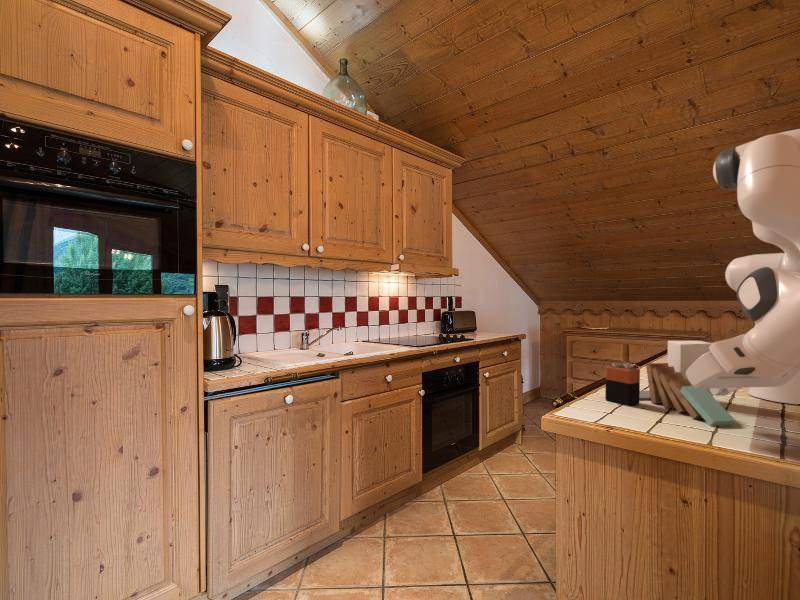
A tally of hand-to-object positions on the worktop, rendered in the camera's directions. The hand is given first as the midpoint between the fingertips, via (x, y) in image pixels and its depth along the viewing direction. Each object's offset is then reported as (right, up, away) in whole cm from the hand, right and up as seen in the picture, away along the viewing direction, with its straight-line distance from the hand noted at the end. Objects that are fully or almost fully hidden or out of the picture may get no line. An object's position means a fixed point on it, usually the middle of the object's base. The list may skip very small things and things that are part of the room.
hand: (717, 392), depth 87 cm
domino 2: (-1, -6, +11) cm, 13 cm away
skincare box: (+7, -7, +19) cm, 21 cm away
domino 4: (0, -6, +3) cm, 7 cm away
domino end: (0, -6, -1) cm, 6 cm away
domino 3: (-1, -6, +7) cm, 9 cm away
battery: (-11, -7, +17) cm, 21 cm away
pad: (-2, -6, +23) cm, 24 cm away
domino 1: (-2, -6, +16) cm, 17 cm away
